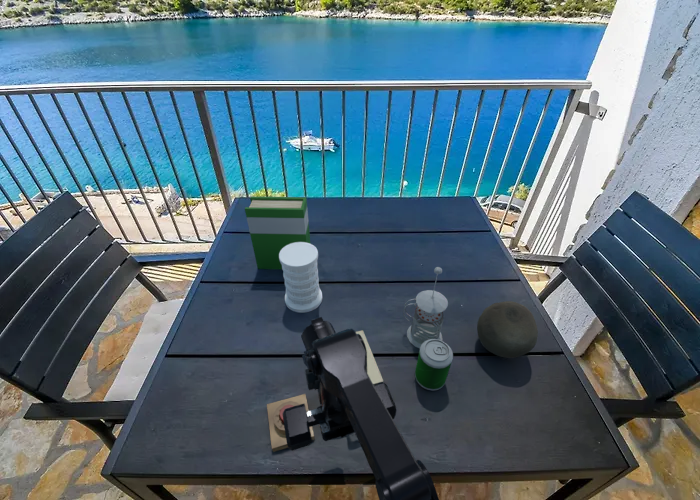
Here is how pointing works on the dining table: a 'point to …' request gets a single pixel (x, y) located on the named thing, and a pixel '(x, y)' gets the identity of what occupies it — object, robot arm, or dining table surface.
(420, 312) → the french press
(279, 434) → the control block
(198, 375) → the dining table surface
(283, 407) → the red button
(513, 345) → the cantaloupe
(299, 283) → the decorative container
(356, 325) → the dining table surface
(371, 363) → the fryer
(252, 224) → the hardback book
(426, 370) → the soda can
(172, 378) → the dining table surface
